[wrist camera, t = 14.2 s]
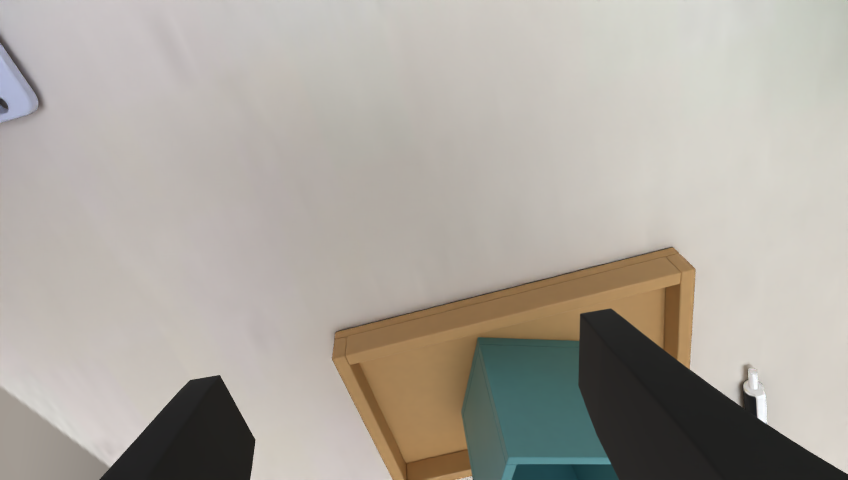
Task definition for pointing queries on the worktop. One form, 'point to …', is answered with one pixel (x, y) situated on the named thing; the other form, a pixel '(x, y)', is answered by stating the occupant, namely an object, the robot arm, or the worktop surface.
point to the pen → (755, 396)
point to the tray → (493, 318)
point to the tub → (530, 414)
